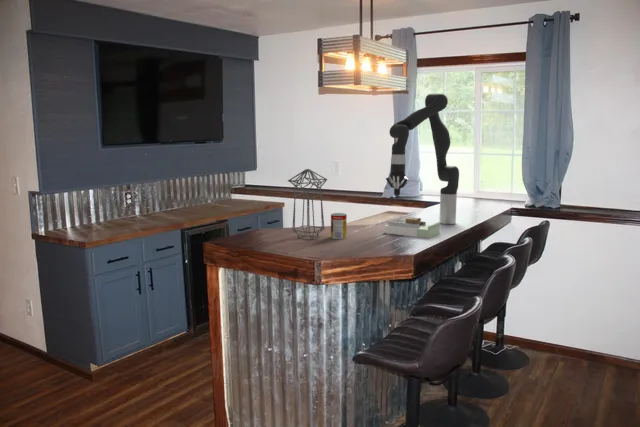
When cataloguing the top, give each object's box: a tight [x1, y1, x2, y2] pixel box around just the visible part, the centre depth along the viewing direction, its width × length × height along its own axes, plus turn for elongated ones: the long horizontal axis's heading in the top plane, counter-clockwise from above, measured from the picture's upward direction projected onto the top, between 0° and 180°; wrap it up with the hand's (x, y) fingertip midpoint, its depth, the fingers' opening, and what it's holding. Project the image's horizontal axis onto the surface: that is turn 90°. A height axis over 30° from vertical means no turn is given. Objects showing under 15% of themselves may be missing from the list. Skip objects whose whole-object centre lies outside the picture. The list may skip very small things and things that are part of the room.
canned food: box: [330, 212, 348, 240], centre depth 278 cm, size 8×8×12 cm
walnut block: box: [405, 216, 422, 226], centre depth 288 cm, size 6×6×4 cm
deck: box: [384, 221, 441, 239], centre depth 289 cm, size 14×25×6 cm, turn 57°
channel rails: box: [387, 218, 427, 228], centre depth 290 cm, size 10×17×2 cm, turn 57°
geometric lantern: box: [287, 168, 328, 241], centre depth 274 cm, size 16×16×35 cm
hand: (396, 195), depth 292 cm, fingers closed
